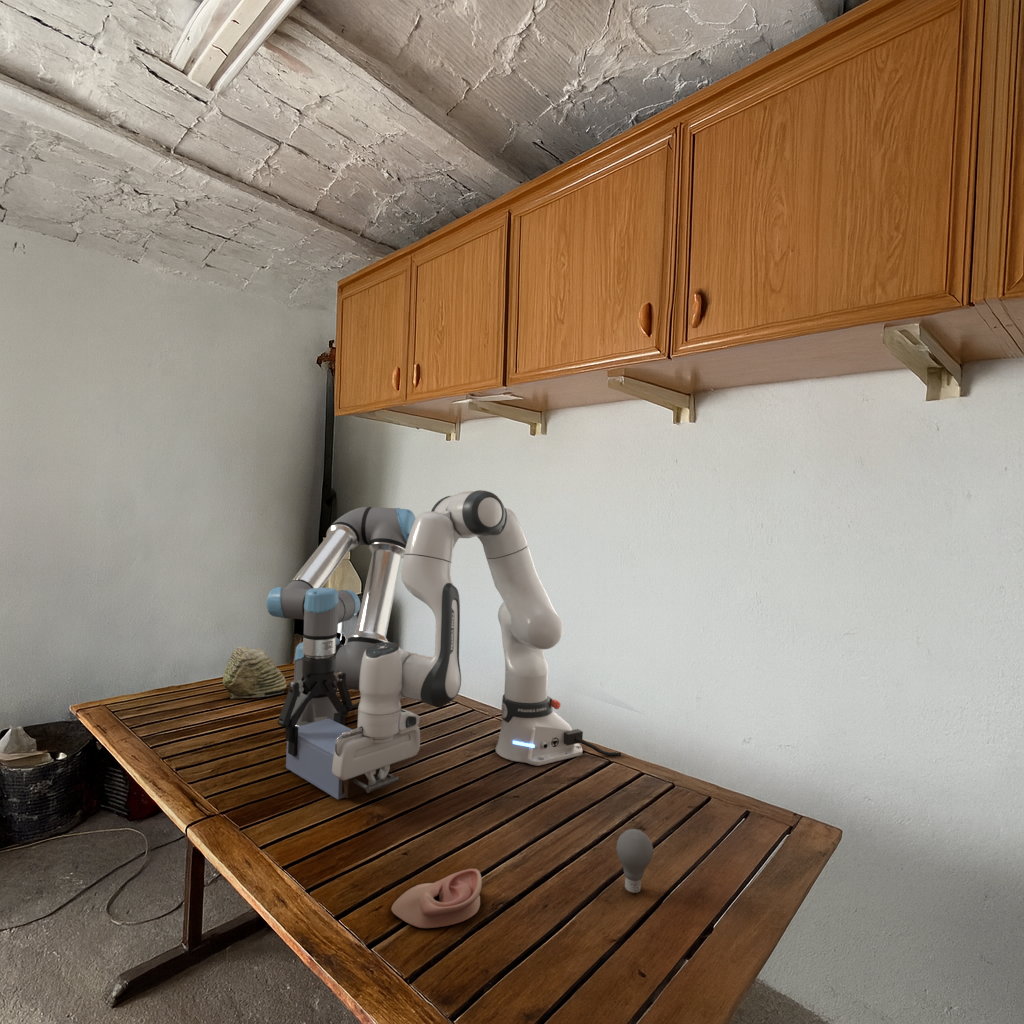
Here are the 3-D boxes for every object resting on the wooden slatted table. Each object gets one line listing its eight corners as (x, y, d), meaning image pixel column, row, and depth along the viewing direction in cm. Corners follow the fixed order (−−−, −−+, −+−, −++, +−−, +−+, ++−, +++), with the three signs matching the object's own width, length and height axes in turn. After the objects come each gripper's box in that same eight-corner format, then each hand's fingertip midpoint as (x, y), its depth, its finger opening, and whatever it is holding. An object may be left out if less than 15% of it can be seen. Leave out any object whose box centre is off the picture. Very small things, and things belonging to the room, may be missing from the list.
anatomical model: (384, 895, 95) (411, 854, 106) (383, 921, 95) (410, 877, 106) (469, 910, 92) (488, 866, 104) (468, 937, 93) (487, 890, 104)
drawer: (402, 793, 135) (404, 760, 135) (364, 808, 128) (365, 773, 128) (333, 756, 152) (335, 726, 152) (296, 768, 145) (297, 737, 145)
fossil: (218, 695, 195) (220, 647, 195) (278, 685, 208) (279, 640, 207) (228, 703, 189) (230, 653, 188) (289, 692, 201) (290, 645, 201)
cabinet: (380, 783, 141) (382, 743, 141) (338, 800, 133) (339, 757, 133) (327, 754, 155) (328, 718, 155) (285, 767, 147) (287, 729, 147)
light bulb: (610, 879, 108) (613, 822, 108) (644, 879, 109) (647, 822, 109) (619, 902, 102) (622, 840, 102) (655, 901, 103) (658, 840, 103)
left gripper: (280, 666, 137) (276, 766, 137) (370, 650, 155) (366, 739, 155) (263, 659, 142) (259, 756, 142) (352, 644, 160) (349, 731, 160)
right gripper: (345, 738, 123) (342, 809, 123) (425, 715, 138) (423, 777, 139) (327, 729, 127) (324, 797, 127) (407, 707, 142) (404, 768, 143)
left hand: (315, 747), depth 149 cm, fingers closed on cabinet, 11 cm apart
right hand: (376, 787), depth 133 cm, fingers closed
